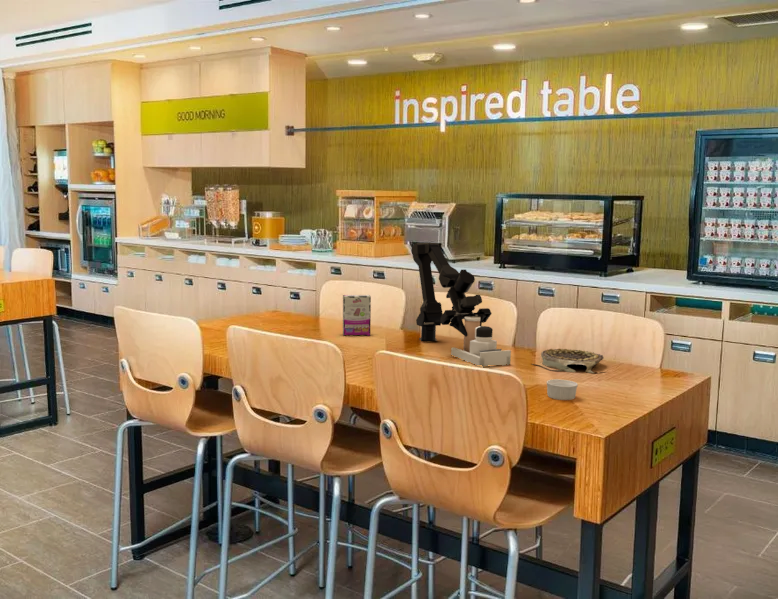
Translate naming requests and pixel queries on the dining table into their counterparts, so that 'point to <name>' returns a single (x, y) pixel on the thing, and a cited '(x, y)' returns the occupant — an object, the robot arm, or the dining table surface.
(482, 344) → the medicine bottle
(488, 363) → the lane
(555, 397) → the ramekin
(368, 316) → the candy bar box
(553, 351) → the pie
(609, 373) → the dining table surface
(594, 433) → the dining table surface
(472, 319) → the spice jar
